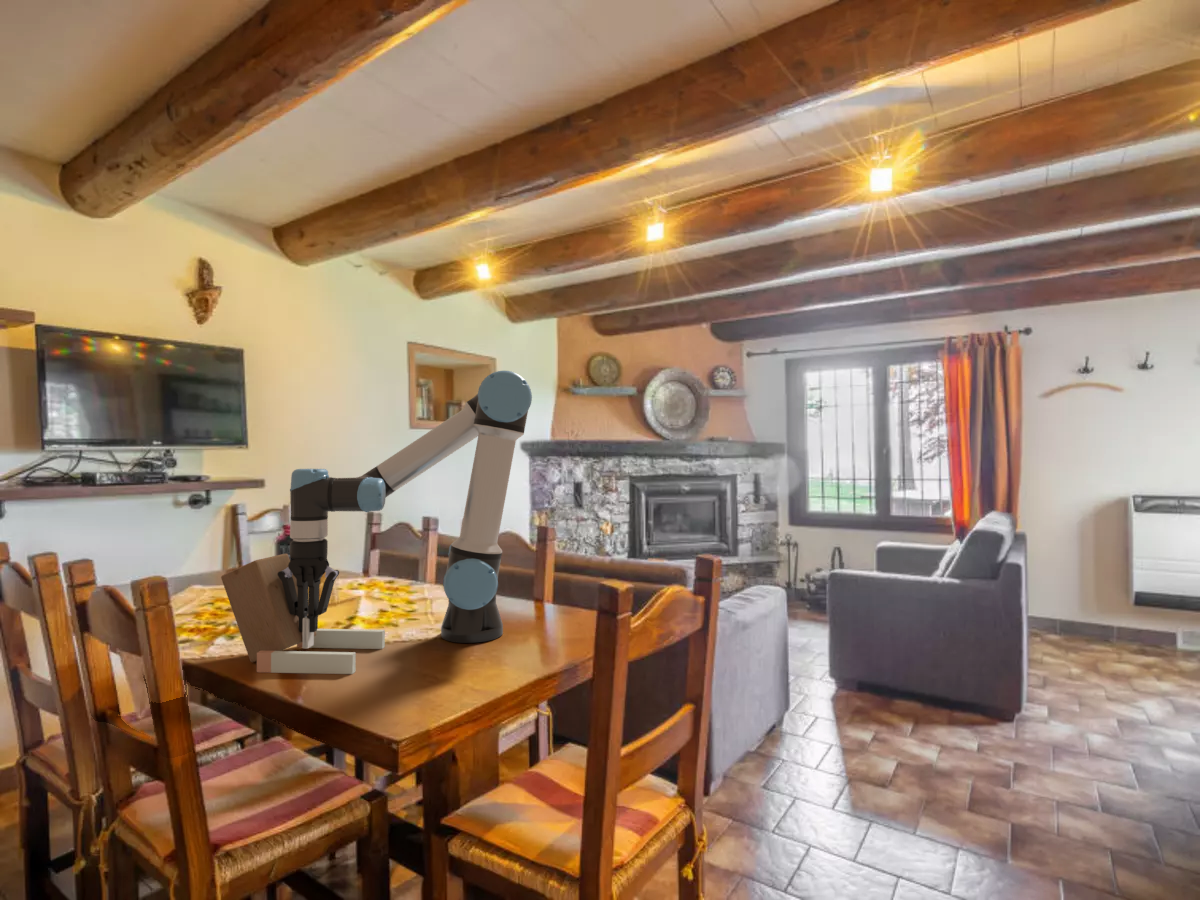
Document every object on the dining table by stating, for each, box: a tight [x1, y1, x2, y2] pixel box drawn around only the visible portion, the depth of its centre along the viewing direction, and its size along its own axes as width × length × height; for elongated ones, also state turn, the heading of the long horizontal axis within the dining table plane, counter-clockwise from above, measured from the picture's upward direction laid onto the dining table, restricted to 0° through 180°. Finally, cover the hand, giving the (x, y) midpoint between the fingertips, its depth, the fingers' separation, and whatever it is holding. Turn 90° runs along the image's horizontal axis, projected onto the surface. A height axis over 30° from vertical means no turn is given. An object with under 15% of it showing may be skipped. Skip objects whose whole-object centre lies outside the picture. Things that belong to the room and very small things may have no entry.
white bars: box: [256, 628, 386, 675], centre depth 141 cm, size 20×18×4 cm
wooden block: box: [220, 553, 316, 663], centre depth 142 cm, size 10×10×20 cm
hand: (308, 646), depth 141 cm, fingers closed
